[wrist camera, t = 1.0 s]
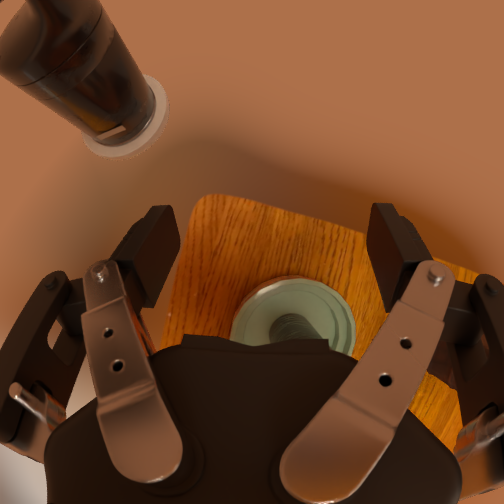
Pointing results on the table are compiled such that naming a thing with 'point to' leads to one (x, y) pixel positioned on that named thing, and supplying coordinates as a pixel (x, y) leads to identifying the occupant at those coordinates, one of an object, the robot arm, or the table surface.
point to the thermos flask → (292, 329)
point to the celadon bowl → (298, 302)
